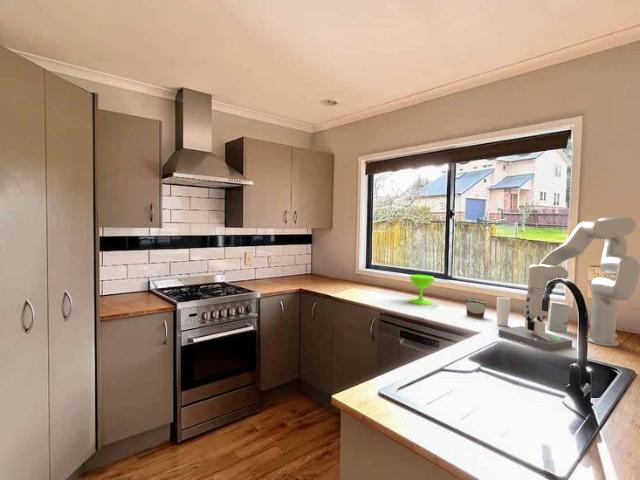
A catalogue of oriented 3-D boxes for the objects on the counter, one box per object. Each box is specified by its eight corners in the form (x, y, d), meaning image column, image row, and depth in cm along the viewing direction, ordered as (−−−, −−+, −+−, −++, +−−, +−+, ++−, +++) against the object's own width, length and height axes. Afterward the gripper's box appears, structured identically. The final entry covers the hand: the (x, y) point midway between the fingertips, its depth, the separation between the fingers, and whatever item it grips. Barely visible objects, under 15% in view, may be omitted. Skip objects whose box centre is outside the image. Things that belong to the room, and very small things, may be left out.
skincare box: (549, 330, 190) (551, 302, 190) (546, 327, 196) (548, 300, 195) (567, 332, 187) (569, 304, 187) (564, 330, 193) (566, 302, 192)
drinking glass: (496, 322, 202) (498, 296, 201) (510, 325, 198) (512, 298, 197) (493, 325, 197) (495, 297, 196) (507, 327, 192) (509, 299, 192)
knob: (524, 330, 175) (525, 317, 175) (530, 330, 175) (531, 317, 175) (546, 340, 160) (547, 326, 160) (552, 340, 160) (553, 326, 160)
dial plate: (521, 331, 185) (522, 325, 185) (572, 346, 164) (572, 340, 164) (498, 335, 177) (498, 329, 177) (548, 351, 156) (548, 344, 155)
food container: (489, 317, 213) (490, 300, 213) (485, 319, 209) (486, 302, 209) (468, 313, 222) (469, 297, 221) (464, 315, 217) (465, 298, 217)
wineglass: (437, 303, 248) (439, 277, 248) (422, 305, 239) (423, 278, 239) (419, 299, 261) (420, 274, 261) (404, 300, 252) (405, 275, 252)
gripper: (529, 293, 164) (526, 333, 164) (557, 292, 168) (555, 331, 169) (516, 290, 171) (513, 328, 171) (543, 289, 176) (541, 326, 176)
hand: (534, 329), depth 170 cm, fingers closed on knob, 3 cm apart
